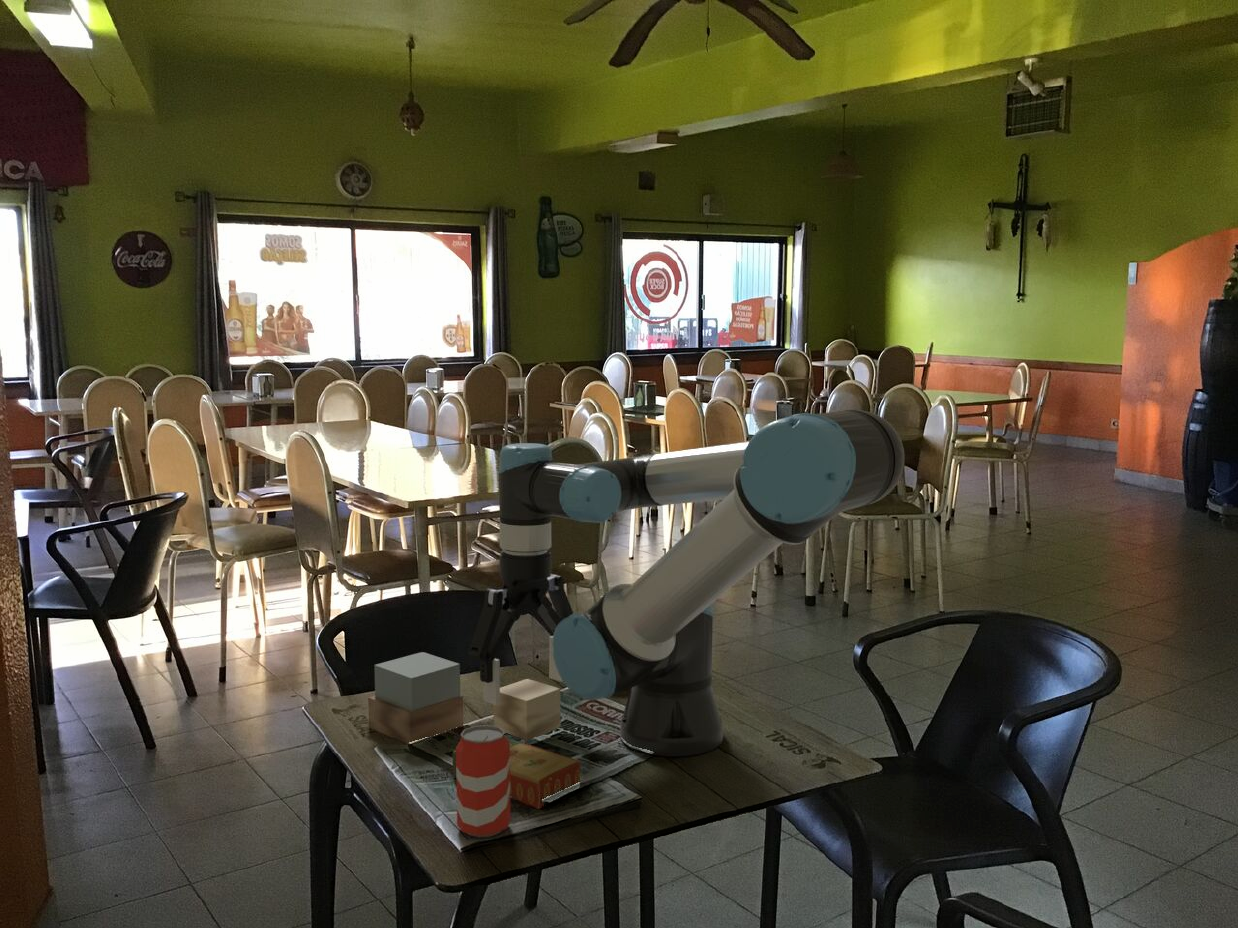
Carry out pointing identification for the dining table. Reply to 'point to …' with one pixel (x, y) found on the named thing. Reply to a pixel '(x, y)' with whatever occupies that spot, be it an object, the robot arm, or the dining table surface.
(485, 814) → the beverage can
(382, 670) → the tower top
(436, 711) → the tower base
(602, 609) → the robot arm
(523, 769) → the carton
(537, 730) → the maple cube
